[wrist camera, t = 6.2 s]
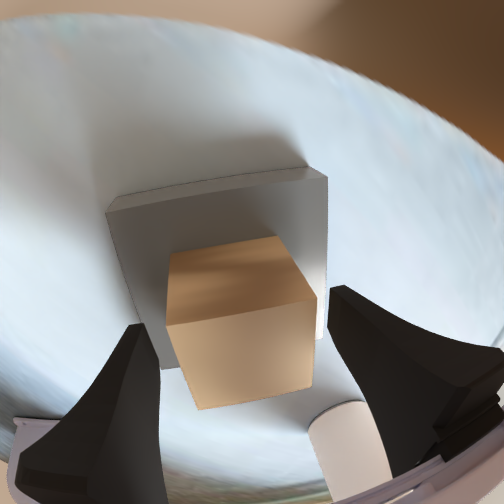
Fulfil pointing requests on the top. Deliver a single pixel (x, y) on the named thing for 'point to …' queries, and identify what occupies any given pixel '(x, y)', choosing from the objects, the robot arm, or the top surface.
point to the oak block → (241, 322)
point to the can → (350, 450)
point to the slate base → (217, 233)
